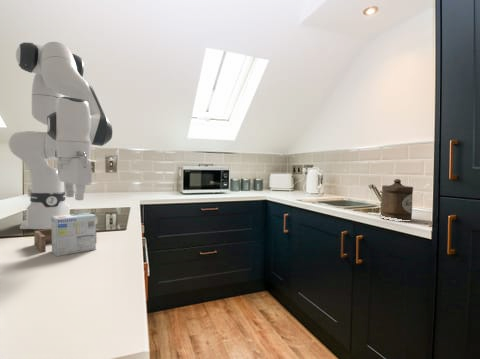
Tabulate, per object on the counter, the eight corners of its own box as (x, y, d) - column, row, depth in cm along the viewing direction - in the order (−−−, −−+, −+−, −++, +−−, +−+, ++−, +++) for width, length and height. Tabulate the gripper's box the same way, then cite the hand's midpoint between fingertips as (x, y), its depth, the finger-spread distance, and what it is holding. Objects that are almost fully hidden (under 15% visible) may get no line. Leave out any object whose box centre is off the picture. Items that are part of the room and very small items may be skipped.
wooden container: (411, 223, 141) (413, 180, 141) (379, 219, 149) (380, 178, 148) (411, 219, 154) (413, 179, 153) (381, 216, 162) (383, 178, 161)
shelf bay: (34, 244, 88) (34, 230, 88) (86, 237, 99) (85, 224, 99) (41, 252, 81) (41, 237, 81) (96, 243, 92) (96, 229, 92)
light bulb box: (89, 245, 90) (89, 212, 89) (96, 249, 85) (96, 214, 85) (50, 251, 82) (50, 215, 82) (55, 257, 77) (55, 218, 77)
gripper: (98, 152, 78) (98, 201, 78) (75, 153, 92) (76, 194, 93) (72, 151, 73) (72, 203, 74) (53, 152, 87) (53, 195, 88)
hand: (74, 198), depth 83 cm, fingers open, 8 cm apart
